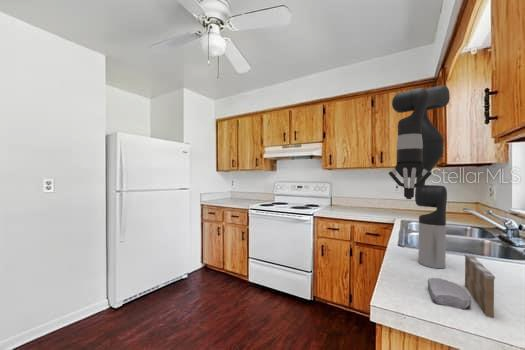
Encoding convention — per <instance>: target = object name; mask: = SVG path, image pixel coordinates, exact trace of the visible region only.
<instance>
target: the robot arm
mask: <svg viewBox="0 0 525 350" xmlns="http://www.w3.org/2000/svg"><path fill="white" fill-rule="evenodd" d="M450 95H451V94H450V89H449V87H448V86H446V85H443V84H442V85H436V86H432V87H428V88H424V87H419V88H418V87H417V88H414V89H409V90H405V91H401V92H400V91H399V92H398V93H396V94H395V96H393V98H392V100H391V106H392V109H393V110H394V111H395V112H397V113H399V114H401V113H402V114H403V113H409V112H412V113H411V114H409V116H406V117H403V118H401V119H399V120H398V122H397V141H396V165H395V166H394V169H393V170H391V171H389V172H388V176H390V178H391V179H393V180H394V182H395V183H396V184H397V185H398V186H399V187H402V188H403V196H404V198H406V200H412V199H413V198H414V201H415V204H416V205H417V206H419V207H422V208H423V207H426V208H436V210H434V211H432V212H429V213H425V214H420V215H419V216H418V256H417V258H418V259H417V260H418V261H417V262H418V263H419V264H420V265H422V266H424V267H429V268H431V269H432V268H434V269H444V268H446V250H447V249H446V248H447V247H446V245H447V244H446V242H447V241H446V240H447V239H446V238H447V237H446V236H447V235H446V234H447V229H446V228H447V221H446V220H447V201H448V191H447V188H446V187H445V186H444V185H437V184H436V185H433V184H431V185H430V184H426V182H427V181H426V180H428V178H429V177H431V175H432V169H434V168H435V167H436V165H437V163H439V161H440V160H441V158H442V157H443V156H444V136H443V135H442V134H441V132H440V131H439V129H438V128H436V127H435V126H434V124H433V123H432V121H431V119H430V118H429V116H428V111H429V110H430V111H431V110H436V109H441V108H444V107H446V106H447V105H448V104H449V103H450V98H451V97H450ZM397 173H398V175H399V176H400V177H401V178H402V180H403V182H401V181H400V179H399V178H398V176H397ZM408 179H409V180H408Z"/></svg>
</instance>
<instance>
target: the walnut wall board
mask: <svg viewBox="0 0 525 350" xmlns="http://www.w3.org/2000/svg"><path fill="white" fill-rule="evenodd" d="M464 259H465V261H464V287H465V288H466V289H467V291H468V292H469V293H470V295H471V297H472V298H473V300H474V301H475V302H476V304H477V305H478V307H479V308H480V310H481V311H482V312H483V314H484V315H485V317H488V318H492V319H493V318H494V316H495V315H494V314H495V313H494V312H495V311H494V310H495V280H496V276H495V275H494V274H493V273H492V272H491V271H490V270H488V268H487V267H485V266H484V264H482V262H480V260H478V259H477V258H476V257H474V255H473V254H472V253H470V254H469V253H464Z"/></svg>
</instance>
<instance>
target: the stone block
mask: <svg viewBox="0 0 525 350" xmlns="http://www.w3.org/2000/svg"><path fill="white" fill-rule="evenodd" d="M427 289H428V292H429V295H430V298H431V300H432V302H434V303H435V304H436V305H442V306H446V307H453V308H456V309H460V310H465V309H467V308H469V306H470V305H471V303H472V299H471V296H470V295H469V293H468V292H467V291H466V289H464V288H463V287H462V286H461V285H460V284H458V283H456V282H453V281H449V280H447V279H442V278H438V277H437V278H436V277H431V278H429V277H428V279H427Z"/></svg>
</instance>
